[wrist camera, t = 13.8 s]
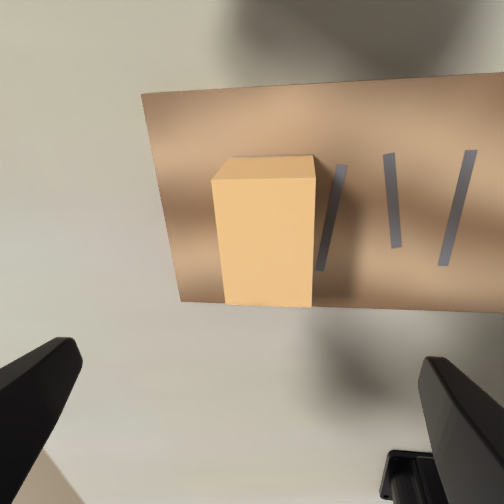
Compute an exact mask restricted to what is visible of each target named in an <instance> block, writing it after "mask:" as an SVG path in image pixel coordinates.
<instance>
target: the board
mask: <svg viewBox="0 0 504 504" xmlns="http://www.w3.org/2000/svg"><path fill="white" fill-rule="evenodd" d="M141 98H142V103H143V108H144V113H145V118H146V124H147V129H148V134H149V139H150V144H151V149H152V155H153V160H154V165H155V170H156V175H157V180H158V186H159V191H160V196H161V201H162V206H163V211H164V217H165V222H166V227H167V232H168V237H169V243H170V248H171V253H172V258H173V263H174V268H175V274H176V279H177V284H178V289H179V294H180V299H181V302H205V303H225V295H224V287H223V278H222V270H221V261H220V253H219V244H218V235H217V227H216V218H215V210H214V201H213V193H212V184H211V179H212V178H213V177H214V176H215V174H216V173H217V172H218V171H219V170H220V169H221V167H222V166H223V165H224V164H225V163H226V161H227V160H228V159H229V158H230V157H240V156H274V155H308V154H313V159H314V167H315V175H316V188H315V217H314V247H313V277H312V306H316V307H344V308H372V309H400V310H428V311H455V312H483V313H504V72H500V73H483V74H466V75H449V76H432V77H414V78H397V79H380V80H363V81H346V82H329V83H312V84H295V85H278V86H261V87H243V88H226V89H209V90H192V91H175V92H158V93H146V94H141Z"/></svg>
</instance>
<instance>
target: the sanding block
mask: <svg viewBox="0 0 504 504" xmlns="http://www.w3.org/2000/svg"><path fill="white" fill-rule="evenodd" d="M211 184H212V193H213V201H214V210H215V218H216V227H217V235H218V244H219V253H220V261H221V270H222V278H223V287H224V295H225V304H226V305H253V306H281V307H309V308H311V306H312V277H313V247H314V217H315V188H316V175H315V167H314V159H313V154H308V155H274V156H240V157H230V158H229V159H228V160H227V161H226V163H225V164H224V165H223V166H222V167H221V169H220V170H219V171H218V172H217V173H216V174H215V176H214V177H213V178H212V179H211Z"/></svg>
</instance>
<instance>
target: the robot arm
mask: <svg viewBox="0 0 504 504" xmlns="http://www.w3.org/2000/svg"><path fill="white" fill-rule="evenodd" d="M82 364H83V360H82V356H81V354H80V352H79V349H78V347H77V344H76V342H75V340H74V339H73V338H71V337H56V338H54V339H52V340H51V341H49V342H47V343H45V344H43V345H42V346H40V347H38V348H36V349H34V350H33V351H31V352H29V353H27V354H26V355H24V356H22V357H20V358H18V359H17V360H15V361H13V362H11V363H9V364H8V365H6V366H4V367H2V368H1V369H0V504H12V502H13V500H14V498H15V496H16V495H17V493H18V491H19V489H20V488H21V486H22V484H23V482H24V481H25V479H26V477H27V475H28V473H29V472H30V470H31V468H32V466H33V464H34V462H35V461H36V459H37V457H38V456H39V454H40V452H41V450H42V449H43V447H44V445H45V443H46V441H47V440H48V438H49V436H50V434H51V433H52V431H53V429H54V427H55V425H56V423H57V421H58V419H59V417H60V415H61V413H62V411H63V408H64V406H65V404H66V402H67V400H68V397H69V395H70V393H71V391H72V388H73V386H74V384H75V382H76V380H77V377H78V375H79V373H80V371H81V368H82ZM418 389H419V394H420V398H421V403H422V407H423V412H424V416H425V421H426V425H427V430H428V434H429V439H430V443H431V448H432V452H433V455H431V454H420V453H410V452H399V451H391V452H389V453H388V455H387V459H386V464H385V468H384V473H383V477H382V481H381V486H380V490H379V492H380V497H381V498H382V499H385V500H393V504H504V408H503V407H502V406H501V405H500V404H498V403H497V402H496V401H495V400H494V399H493V398H492V397H490V396H489V395H488V394H487V393H486V392H485V391H483V390H482V389H481V388H480V387H479V386H478V385H477V384H475V383H474V382H473V381H472V380H471V379H470V378H468V377H467V376H466V375H465V374H464V373H463V372H461V371H460V370H459V369H458V368H457V367H456V366H455V365H453V364H452V363H451V362H450V361H449V360H447V359H446V358H444V357H433V356H428V357H425V359H424V361H423V364H422V368H421V372H420V376H419V380H418Z"/></svg>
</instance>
